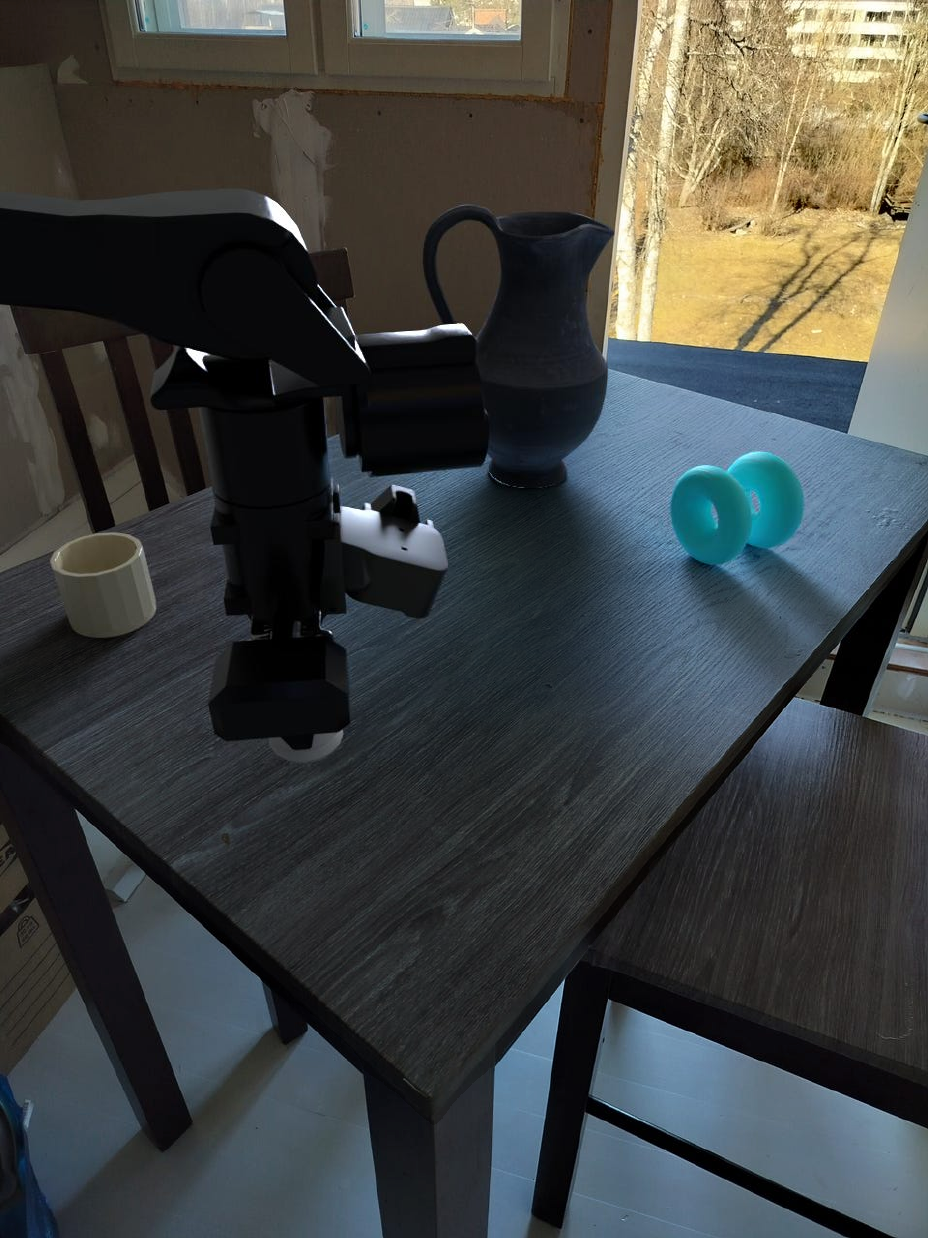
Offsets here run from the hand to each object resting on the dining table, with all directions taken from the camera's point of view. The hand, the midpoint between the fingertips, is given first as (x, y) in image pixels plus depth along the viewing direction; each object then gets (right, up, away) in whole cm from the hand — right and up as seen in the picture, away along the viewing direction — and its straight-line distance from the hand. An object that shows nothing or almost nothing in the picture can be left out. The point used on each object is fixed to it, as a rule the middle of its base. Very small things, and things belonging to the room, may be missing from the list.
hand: (303, 721), depth 50 cm
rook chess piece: (0, -1, +1) cm, 2 cm away
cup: (-23, +7, +28) cm, 37 cm away
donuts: (+37, +13, +38) cm, 55 cm away
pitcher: (+15, +24, +53) cm, 60 cm away
